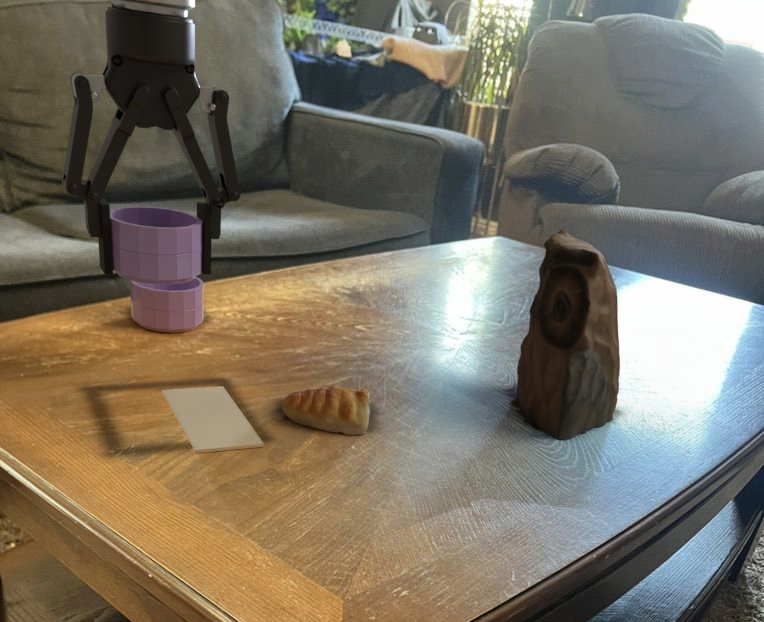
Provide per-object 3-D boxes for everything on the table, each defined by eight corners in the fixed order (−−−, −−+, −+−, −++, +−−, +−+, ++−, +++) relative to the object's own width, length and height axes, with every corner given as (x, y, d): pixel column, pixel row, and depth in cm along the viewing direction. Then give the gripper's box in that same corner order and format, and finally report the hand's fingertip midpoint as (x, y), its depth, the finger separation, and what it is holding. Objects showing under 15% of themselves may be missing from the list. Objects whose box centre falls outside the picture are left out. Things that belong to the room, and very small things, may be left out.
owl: (561, 446, 85) (612, 261, 75) (471, 404, 92) (507, 229, 82) (618, 420, 93) (671, 251, 83) (532, 383, 100) (571, 222, 90)
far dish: (139, 335, 97) (138, 292, 94) (126, 311, 104) (124, 270, 101) (211, 333, 101) (211, 291, 98) (193, 310, 107) (193, 270, 105)
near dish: (119, 287, 74) (116, 227, 71) (101, 260, 80) (98, 204, 77) (212, 286, 78) (213, 229, 75) (188, 260, 84) (188, 207, 81)
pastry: (278, 429, 80) (281, 394, 78) (284, 402, 86) (286, 370, 84) (369, 438, 81) (374, 404, 79) (368, 411, 86) (372, 379, 84)
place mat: (114, 461, 70) (114, 457, 70) (90, 397, 80) (90, 394, 80) (263, 446, 76) (263, 443, 76) (222, 389, 86) (223, 386, 86)
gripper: (17, -10, 60) (46, 282, 71) (284, 29, 69) (270, 280, 81) (8, -13, 65) (35, 259, 77) (256, 24, 75) (247, 260, 86)
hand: (156, 270), depth 79 cm, fingers closed on near dish, 9 cm apart
